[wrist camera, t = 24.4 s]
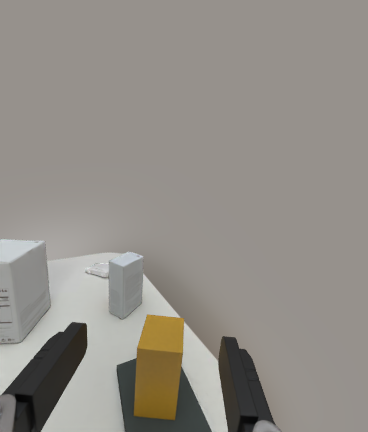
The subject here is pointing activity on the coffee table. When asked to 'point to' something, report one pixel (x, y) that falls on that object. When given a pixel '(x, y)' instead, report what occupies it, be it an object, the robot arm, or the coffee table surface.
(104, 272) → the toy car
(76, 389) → the coffee table surface
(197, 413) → the rubber mat
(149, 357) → the mustard block
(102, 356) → the coffee table surface
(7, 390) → the robot arm
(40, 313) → the rectangular carton
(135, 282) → the cosmetic box
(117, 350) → the coffee table surface
